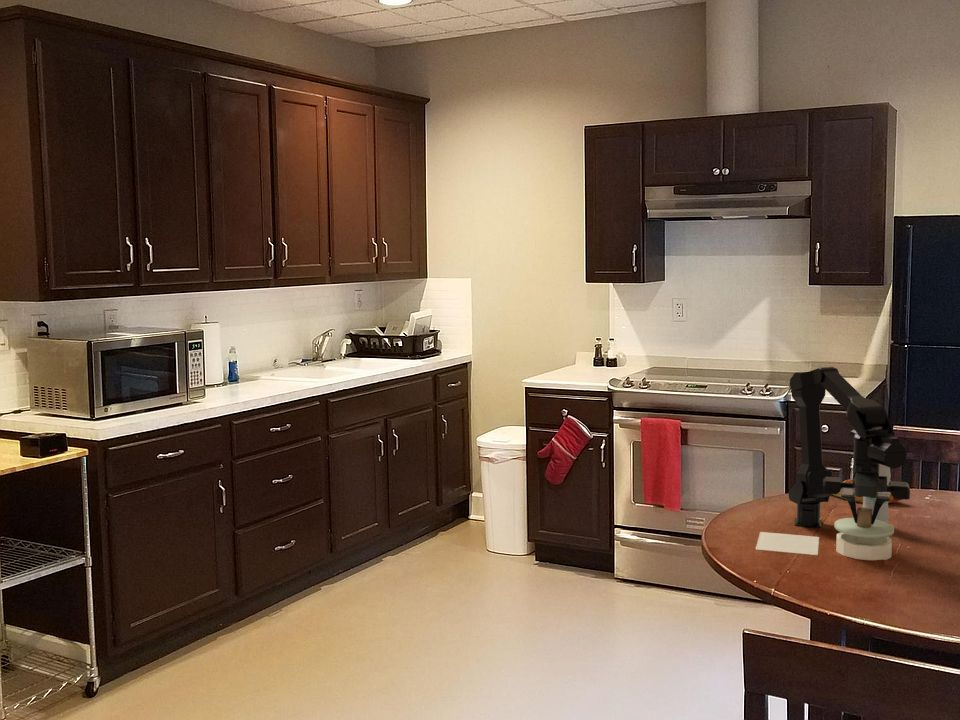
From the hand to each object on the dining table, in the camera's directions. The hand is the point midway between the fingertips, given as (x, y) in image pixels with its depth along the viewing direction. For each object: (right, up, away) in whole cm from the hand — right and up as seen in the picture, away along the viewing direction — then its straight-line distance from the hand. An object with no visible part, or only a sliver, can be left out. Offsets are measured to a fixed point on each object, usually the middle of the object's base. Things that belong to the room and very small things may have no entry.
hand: (864, 523), depth 229 cm
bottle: (+11, -4, +20) cm, 23 cm away
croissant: (+18, -1, +46) cm, 49 cm away
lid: (0, -1, 0) cm, 1 cm away
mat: (-15, -6, +8) cm, 18 cm away
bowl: (0, -7, +1) cm, 7 cm away
